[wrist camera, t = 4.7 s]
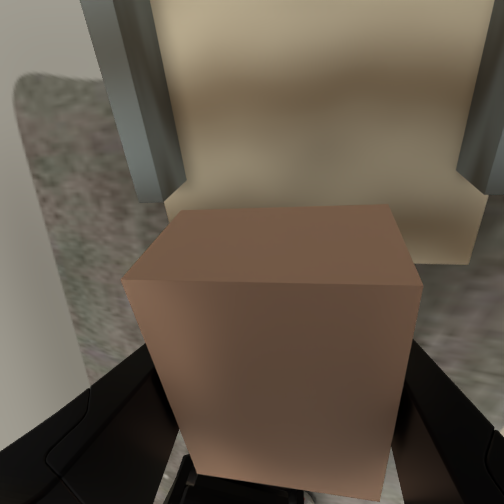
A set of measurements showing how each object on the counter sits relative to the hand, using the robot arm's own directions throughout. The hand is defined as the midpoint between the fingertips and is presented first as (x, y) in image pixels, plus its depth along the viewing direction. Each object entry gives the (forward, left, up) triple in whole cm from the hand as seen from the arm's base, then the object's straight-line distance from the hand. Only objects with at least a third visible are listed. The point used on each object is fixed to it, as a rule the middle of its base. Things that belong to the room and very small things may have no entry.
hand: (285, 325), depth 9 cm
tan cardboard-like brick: (0, 0, -2) cm, 2 cm away
